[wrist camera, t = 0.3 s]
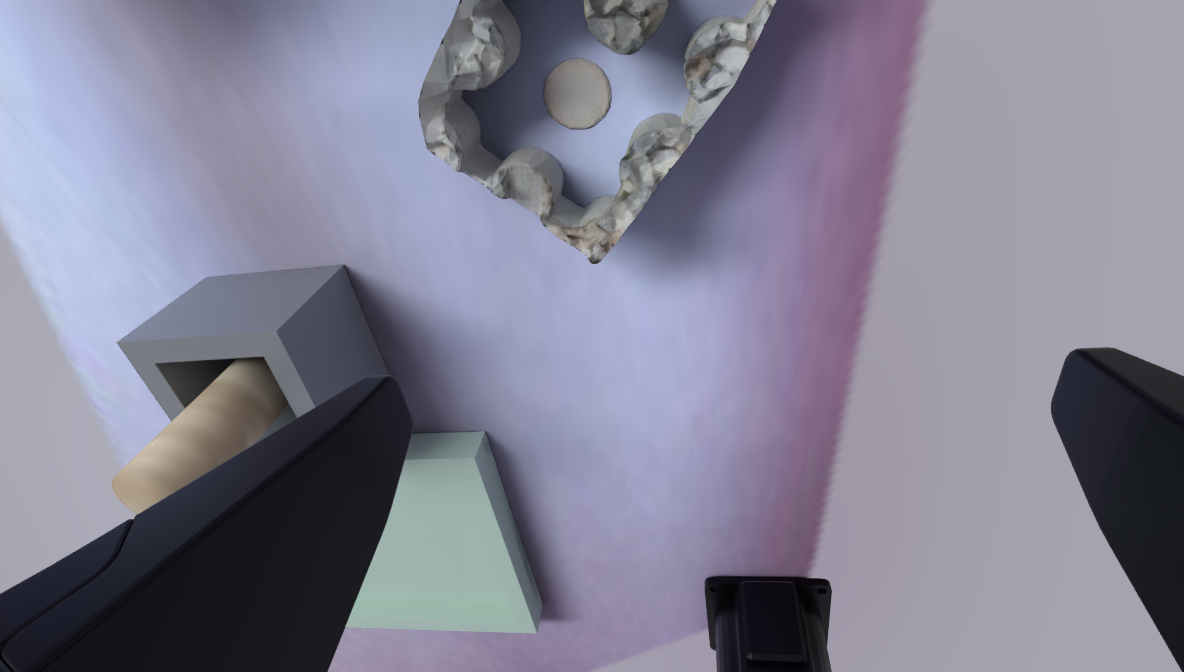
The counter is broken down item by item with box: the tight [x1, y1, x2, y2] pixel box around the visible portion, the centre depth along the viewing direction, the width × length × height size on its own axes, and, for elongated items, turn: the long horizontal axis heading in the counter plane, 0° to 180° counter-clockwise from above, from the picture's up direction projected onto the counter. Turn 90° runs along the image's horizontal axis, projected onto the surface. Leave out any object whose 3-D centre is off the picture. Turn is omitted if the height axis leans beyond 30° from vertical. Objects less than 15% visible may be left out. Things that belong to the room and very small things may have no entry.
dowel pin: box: [112, 356, 289, 514], centre depth 23 cm, size 3×3×9 cm
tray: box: [346, 431, 543, 633], centre depth 34 cm, size 14×18×2 cm
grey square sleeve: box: [117, 265, 389, 443], centre depth 25 cm, size 7×7×5 cm
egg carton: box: [418, 0, 777, 264], centre depth 18 cm, size 11×8×4 cm
